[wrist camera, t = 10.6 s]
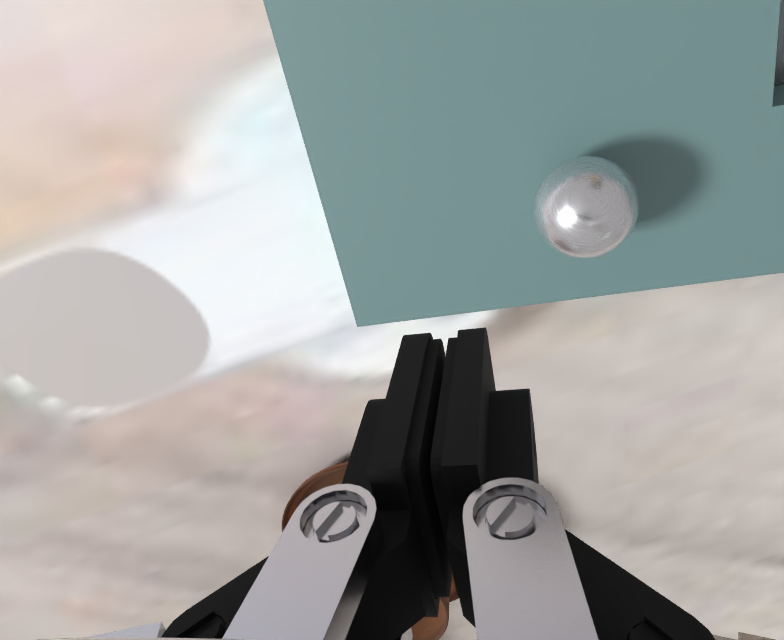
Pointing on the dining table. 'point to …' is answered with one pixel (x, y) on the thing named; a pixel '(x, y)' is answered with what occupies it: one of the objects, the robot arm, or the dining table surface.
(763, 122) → the grey-green flat board
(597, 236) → the ball
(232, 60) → the dining table surface
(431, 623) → the cup and saucer
